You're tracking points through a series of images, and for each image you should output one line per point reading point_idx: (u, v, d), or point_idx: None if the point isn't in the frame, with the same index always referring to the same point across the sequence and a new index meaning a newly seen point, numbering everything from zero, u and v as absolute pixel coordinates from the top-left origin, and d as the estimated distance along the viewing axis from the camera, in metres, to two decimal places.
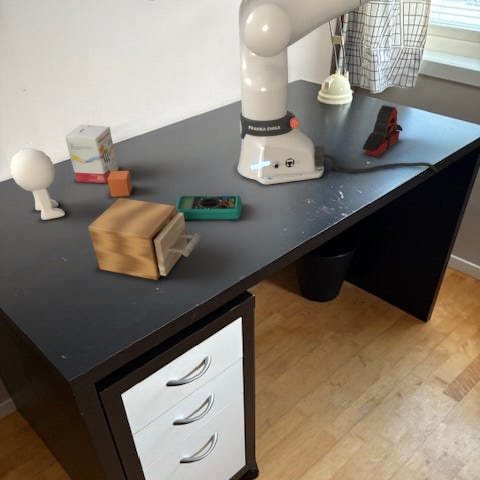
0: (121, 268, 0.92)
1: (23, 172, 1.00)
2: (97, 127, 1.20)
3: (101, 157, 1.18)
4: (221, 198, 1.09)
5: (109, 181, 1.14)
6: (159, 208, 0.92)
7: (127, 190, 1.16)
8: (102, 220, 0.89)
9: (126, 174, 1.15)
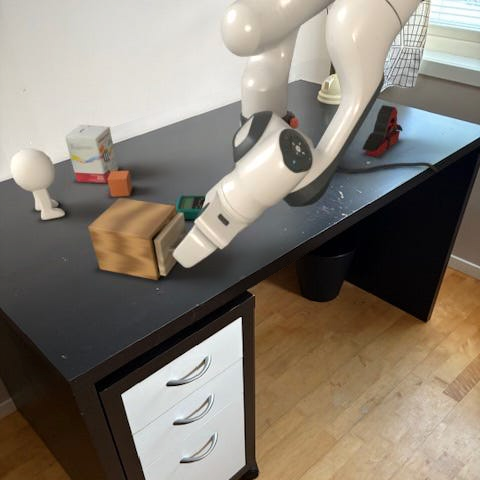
0: (121, 268, 0.92)
1: (23, 172, 1.00)
2: (97, 127, 1.20)
3: (101, 157, 1.18)
4: None
5: (109, 181, 1.14)
6: (159, 208, 0.92)
7: (127, 190, 1.16)
8: (102, 220, 0.89)
9: (126, 174, 1.15)
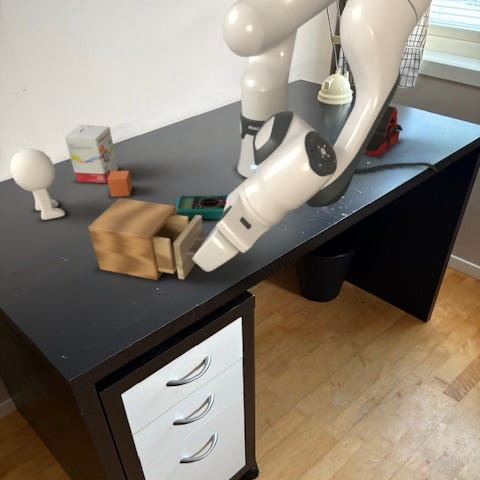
0: (121, 268, 0.92)
1: (23, 172, 1.00)
2: (97, 127, 1.20)
3: (101, 157, 1.18)
4: (221, 198, 1.09)
5: (109, 181, 1.14)
6: (159, 208, 0.92)
7: (127, 190, 1.16)
8: (102, 220, 0.89)
9: (126, 174, 1.15)
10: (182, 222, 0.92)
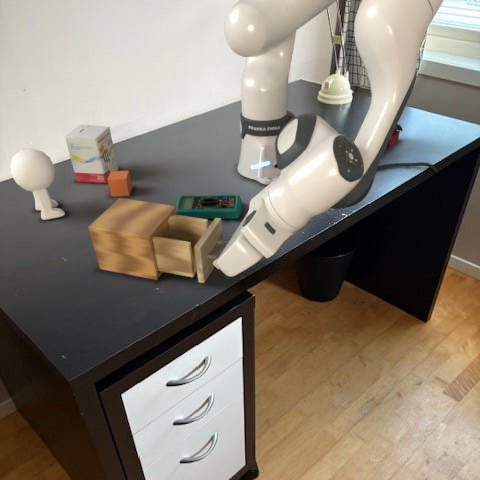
0: (121, 268, 0.92)
1: (23, 172, 1.00)
2: (97, 127, 1.20)
3: (101, 157, 1.18)
4: (221, 198, 1.09)
5: (109, 181, 1.14)
6: (159, 208, 0.92)
7: (127, 190, 1.16)
8: (102, 220, 0.89)
9: (126, 174, 1.15)
10: (201, 225, 0.91)
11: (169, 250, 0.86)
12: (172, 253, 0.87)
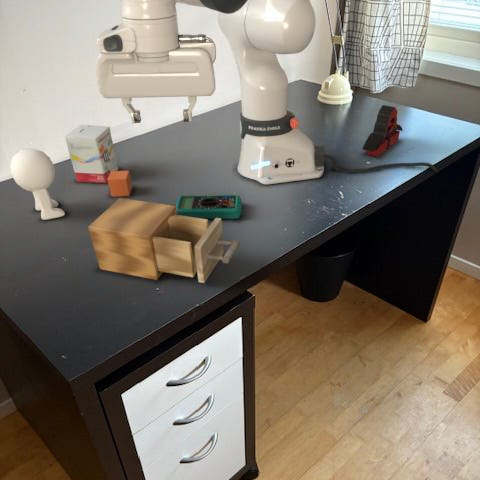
0: (121, 268, 0.92)
1: (23, 172, 1.00)
2: (97, 127, 1.20)
3: (101, 157, 1.18)
4: (221, 198, 1.09)
5: (109, 181, 1.14)
6: (159, 208, 0.92)
7: (127, 190, 1.16)
8: (102, 220, 0.89)
9: (126, 174, 1.15)
10: (202, 225, 0.91)
11: (169, 250, 0.86)
12: (172, 253, 0.87)
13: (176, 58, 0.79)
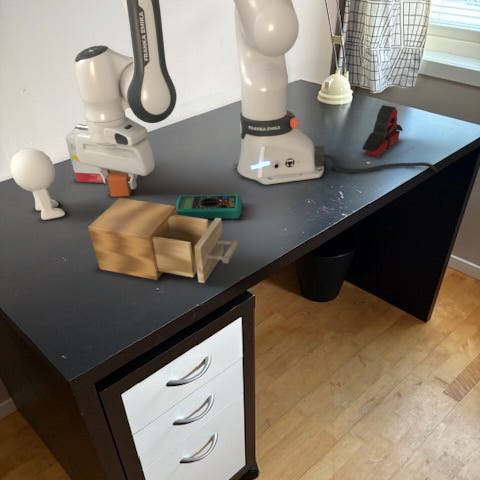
0: (121, 268, 0.92)
1: (23, 172, 1.00)
2: None
3: None
4: (221, 198, 1.09)
5: (109, 181, 1.14)
6: (159, 208, 0.92)
7: (127, 190, 1.16)
8: (102, 220, 0.89)
9: (126, 174, 1.15)
10: (202, 225, 0.91)
11: (169, 250, 0.86)
12: (172, 253, 0.87)
13: None
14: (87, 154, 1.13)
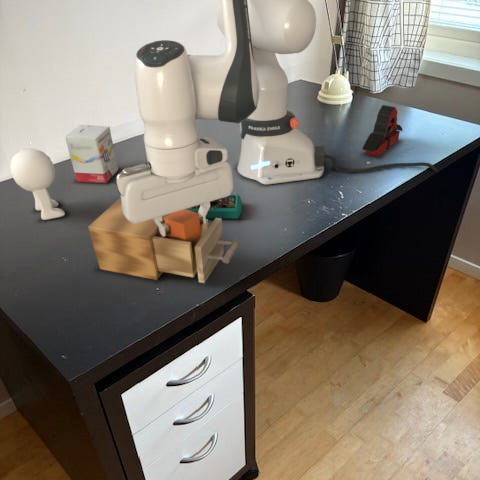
0: (121, 268, 0.92)
1: (23, 172, 1.00)
2: (97, 127, 1.20)
3: (101, 157, 1.18)
4: None
5: (185, 225, 0.84)
6: None
7: (199, 228, 0.88)
8: (102, 220, 0.89)
9: (187, 210, 0.87)
10: (202, 225, 0.91)
11: (169, 250, 0.86)
12: (172, 253, 0.87)
13: None
14: (146, 204, 0.79)
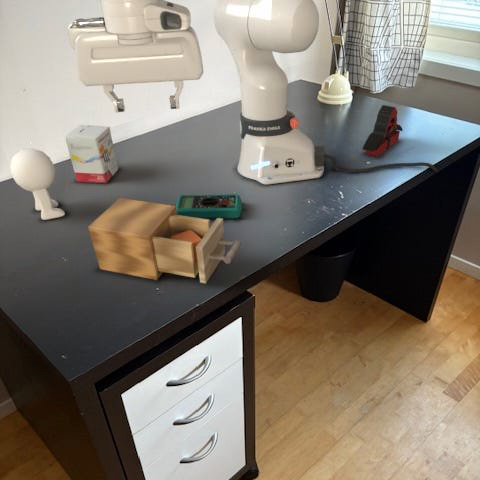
0: (121, 268, 0.92)
1: (23, 172, 1.00)
2: (97, 127, 1.20)
3: (101, 157, 1.18)
4: (221, 197, 1.09)
5: None
6: (159, 208, 0.92)
7: None
8: (102, 220, 0.89)
9: (194, 234, 0.90)
10: (203, 225, 0.91)
11: (170, 251, 0.86)
12: (174, 253, 0.87)
13: None
14: (97, 65, 0.75)
